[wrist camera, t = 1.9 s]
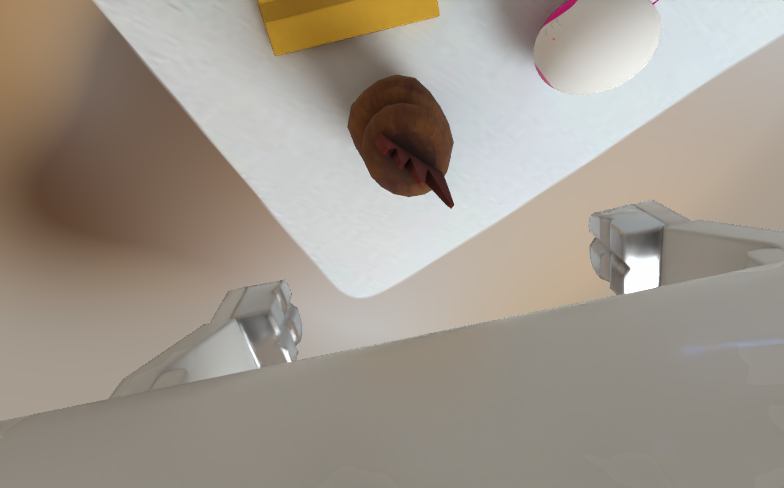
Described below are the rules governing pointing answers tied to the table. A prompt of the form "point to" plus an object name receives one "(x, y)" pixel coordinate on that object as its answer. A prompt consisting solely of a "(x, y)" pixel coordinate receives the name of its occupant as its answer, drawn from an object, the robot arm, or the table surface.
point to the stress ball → (596, 44)
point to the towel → (336, 19)
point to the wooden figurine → (403, 137)
